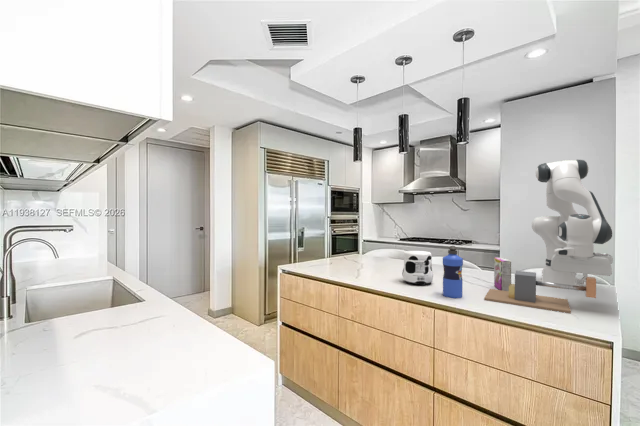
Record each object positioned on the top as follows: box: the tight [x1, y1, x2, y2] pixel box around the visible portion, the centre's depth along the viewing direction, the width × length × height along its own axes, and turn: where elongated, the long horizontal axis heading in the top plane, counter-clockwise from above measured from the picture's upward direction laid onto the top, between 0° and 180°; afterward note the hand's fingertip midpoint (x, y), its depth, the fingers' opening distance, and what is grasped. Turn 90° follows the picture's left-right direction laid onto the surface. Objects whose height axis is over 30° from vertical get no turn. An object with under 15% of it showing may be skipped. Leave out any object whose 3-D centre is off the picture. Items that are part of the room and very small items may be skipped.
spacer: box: [509, 283, 515, 299], centre depth 147 cm, size 6×2×6 cm, turn 144°
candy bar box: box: [493, 256, 512, 291], centre depth 164 cm, size 11×5×16 cm, turn 168°
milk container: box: [401, 250, 434, 285], centre depth 179 cm, size 17×17×18 cm
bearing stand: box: [483, 270, 572, 314], centre depth 144 cm, size 20×32×13 cm, turn 54°
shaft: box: [536, 276, 597, 299], centre depth 136 cm, size 4×24×8 cm, turn 54°
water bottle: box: [442, 245, 464, 299], centre depth 152 cm, size 9×9×25 cm
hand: (579, 283), depth 132 cm, fingers closed
